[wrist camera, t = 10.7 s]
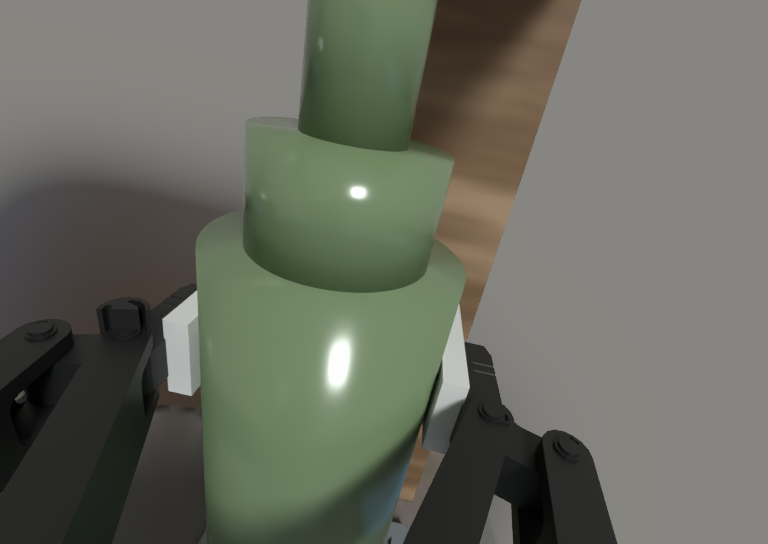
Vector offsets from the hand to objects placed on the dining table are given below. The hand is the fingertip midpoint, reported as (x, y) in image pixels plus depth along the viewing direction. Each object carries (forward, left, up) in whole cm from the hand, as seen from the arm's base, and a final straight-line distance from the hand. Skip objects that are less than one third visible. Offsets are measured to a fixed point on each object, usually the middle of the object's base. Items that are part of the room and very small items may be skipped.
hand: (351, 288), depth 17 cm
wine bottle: (+2, -4, -18) cm, 19 cm away
